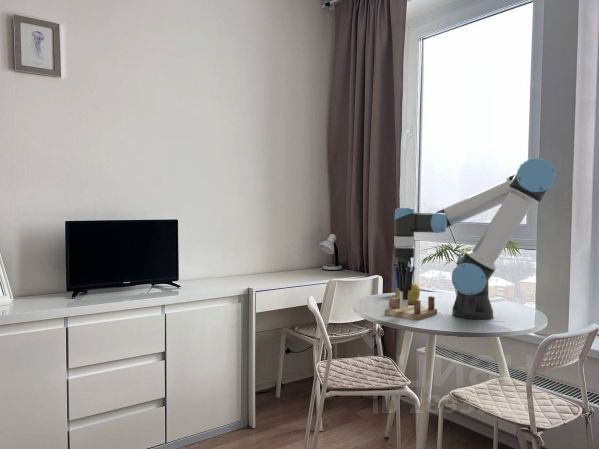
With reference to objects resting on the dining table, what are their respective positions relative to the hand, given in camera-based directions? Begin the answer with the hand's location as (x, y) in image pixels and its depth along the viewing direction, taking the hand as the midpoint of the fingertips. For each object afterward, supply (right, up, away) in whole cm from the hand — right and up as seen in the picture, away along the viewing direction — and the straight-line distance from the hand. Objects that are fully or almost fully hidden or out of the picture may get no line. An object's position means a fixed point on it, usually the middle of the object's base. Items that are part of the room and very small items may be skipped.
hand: (403, 307), depth 181 cm
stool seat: (+4, -3, +4) cm, 7 cm away
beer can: (+11, -3, +49) cm, 50 cm away
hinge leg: (0, -1, +9) cm, 9 cm away
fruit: (+8, -3, +28) cm, 29 cm away
